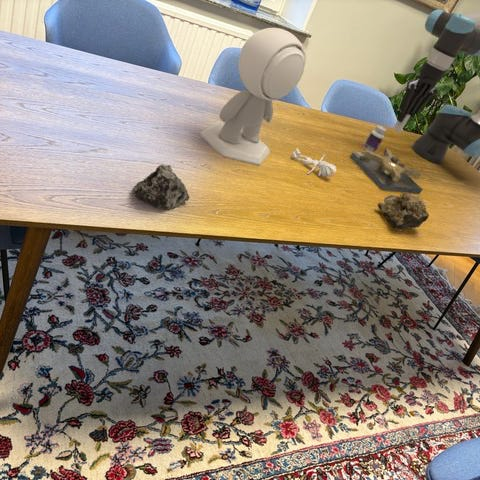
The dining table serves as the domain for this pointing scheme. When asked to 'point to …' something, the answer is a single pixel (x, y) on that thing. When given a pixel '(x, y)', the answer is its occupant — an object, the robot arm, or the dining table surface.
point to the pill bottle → (374, 139)
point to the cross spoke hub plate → (384, 176)
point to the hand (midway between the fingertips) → (396, 130)
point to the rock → (162, 188)
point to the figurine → (316, 164)
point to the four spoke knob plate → (391, 165)
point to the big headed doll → (257, 94)
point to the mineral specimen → (404, 211)
